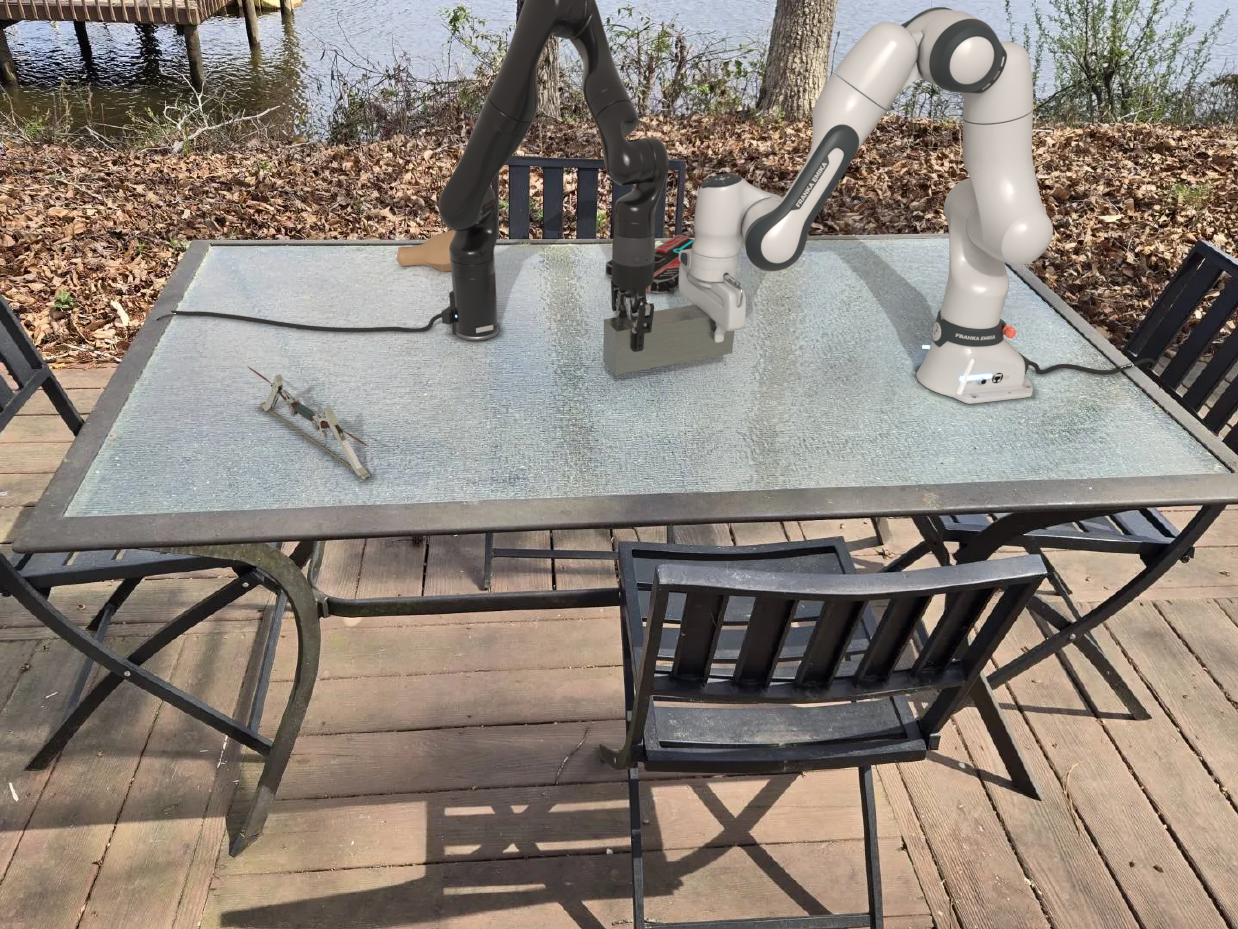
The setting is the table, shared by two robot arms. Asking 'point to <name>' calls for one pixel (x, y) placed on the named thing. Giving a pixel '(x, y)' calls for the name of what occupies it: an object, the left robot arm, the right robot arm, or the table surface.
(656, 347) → the bar
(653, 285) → the gun
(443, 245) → the squash
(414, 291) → the table surface
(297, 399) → the bow
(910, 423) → the table surface
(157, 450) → the table surface
